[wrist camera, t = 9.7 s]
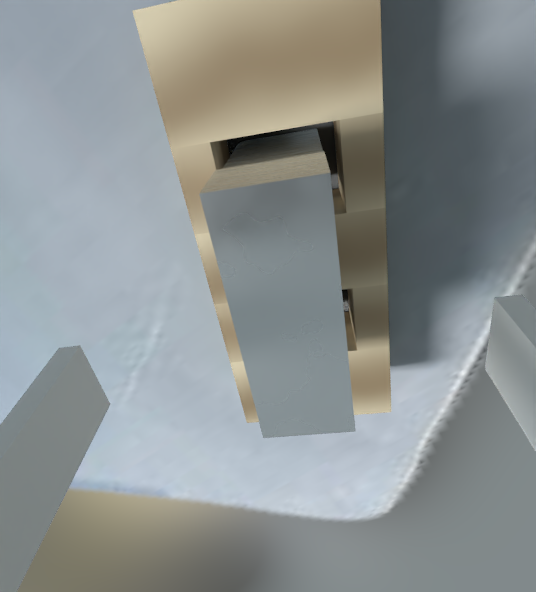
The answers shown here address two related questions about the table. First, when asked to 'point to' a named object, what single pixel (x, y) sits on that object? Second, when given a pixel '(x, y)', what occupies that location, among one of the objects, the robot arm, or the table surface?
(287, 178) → the grey u-shaped block
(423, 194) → the table surface
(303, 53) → the wooden block with holes
